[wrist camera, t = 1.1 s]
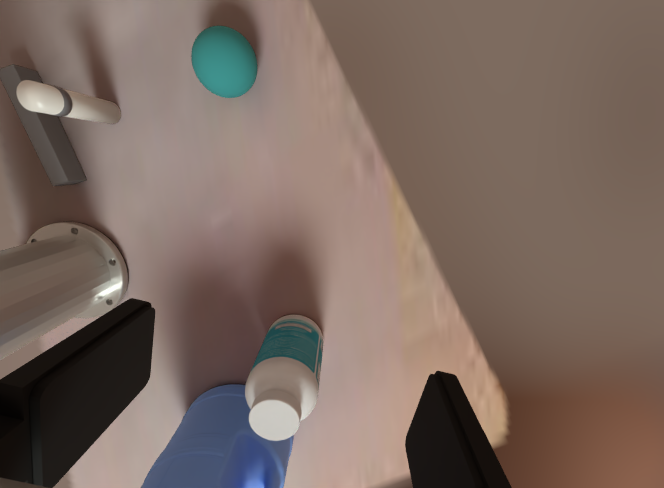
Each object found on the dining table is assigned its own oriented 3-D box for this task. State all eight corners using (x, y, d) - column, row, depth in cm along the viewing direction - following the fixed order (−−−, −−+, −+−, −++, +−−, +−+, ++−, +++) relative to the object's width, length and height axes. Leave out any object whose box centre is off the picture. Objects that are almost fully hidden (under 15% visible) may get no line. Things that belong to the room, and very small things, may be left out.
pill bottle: (257, 326, 40) (216, 404, 27) (306, 303, 39) (288, 372, 26) (285, 370, 42) (259, 463, 29) (333, 349, 41) (329, 436, 28)
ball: (219, 109, 34) (193, 99, 28) (199, 50, 32) (168, 25, 27) (271, 93, 33) (256, 79, 27) (253, 32, 32) (233, 3, 26)
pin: (105, 127, 35) (25, 115, 26) (95, 104, 34) (10, 84, 25) (125, 121, 34) (51, 107, 26) (115, 97, 34) (36, 75, 25)
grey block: (72, 184, 36) (52, 186, 34) (21, 76, 34) (-4, 70, 31) (86, 180, 36) (68, 181, 34) (37, 71, 33) (13, 64, 31)
